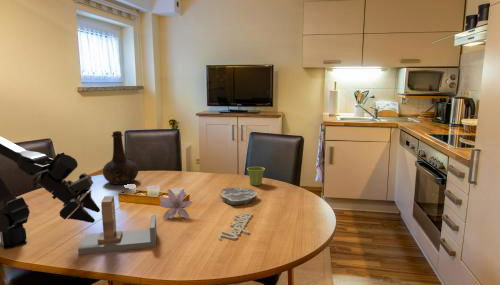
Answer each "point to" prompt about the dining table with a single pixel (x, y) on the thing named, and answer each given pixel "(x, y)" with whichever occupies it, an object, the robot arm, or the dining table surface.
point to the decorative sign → (237, 227)
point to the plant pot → (255, 175)
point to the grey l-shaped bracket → (128, 240)
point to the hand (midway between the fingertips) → (96, 216)
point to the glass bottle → (119, 164)
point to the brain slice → (237, 195)
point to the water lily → (175, 204)
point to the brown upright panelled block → (109, 222)
